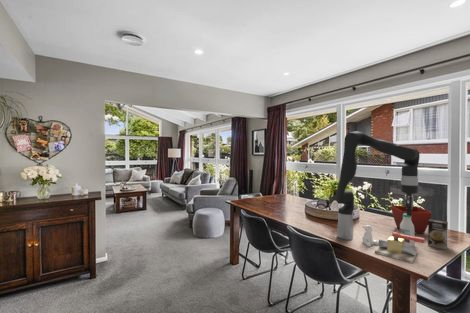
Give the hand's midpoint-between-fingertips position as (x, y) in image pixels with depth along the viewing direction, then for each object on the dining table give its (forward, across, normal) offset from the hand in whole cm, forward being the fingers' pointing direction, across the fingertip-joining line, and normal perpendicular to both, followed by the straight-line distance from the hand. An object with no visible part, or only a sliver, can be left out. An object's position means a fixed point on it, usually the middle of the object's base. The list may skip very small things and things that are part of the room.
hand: (409, 215), depth 127 cm
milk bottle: (+25, +26, +3) cm, 36 cm away
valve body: (+24, +6, +7) cm, 25 cm away
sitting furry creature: (+26, +12, +22) cm, 36 cm away
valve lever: (+16, +5, +1) cm, 17 cm away
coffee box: (+25, +35, -12) cm, 45 cm away
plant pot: (+26, +62, +4) cm, 67 cm away
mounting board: (+25, +6, +7) cm, 27 cm away
